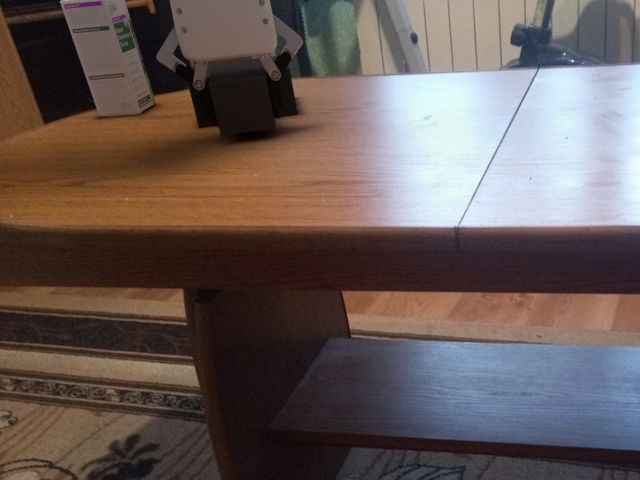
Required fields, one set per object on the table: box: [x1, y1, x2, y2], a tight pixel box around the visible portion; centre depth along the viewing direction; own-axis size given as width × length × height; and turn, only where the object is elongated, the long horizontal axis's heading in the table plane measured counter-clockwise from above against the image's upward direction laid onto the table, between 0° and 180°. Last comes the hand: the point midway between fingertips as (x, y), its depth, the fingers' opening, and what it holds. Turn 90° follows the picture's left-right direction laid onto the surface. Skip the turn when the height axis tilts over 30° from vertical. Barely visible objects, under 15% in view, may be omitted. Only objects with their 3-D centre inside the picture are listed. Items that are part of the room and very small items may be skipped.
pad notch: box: [186, 55, 299, 128], centre depth 93 cm, size 12×10×6 cm
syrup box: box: [59, 0, 157, 117], centre depth 96 cm, size 6×6×14 cm
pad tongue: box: [209, 59, 277, 137], centre depth 85 cm, size 6×13×6 cm, turn 15°
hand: (246, 117), depth 83 cm, fingers closed on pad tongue, 6 cm apart
